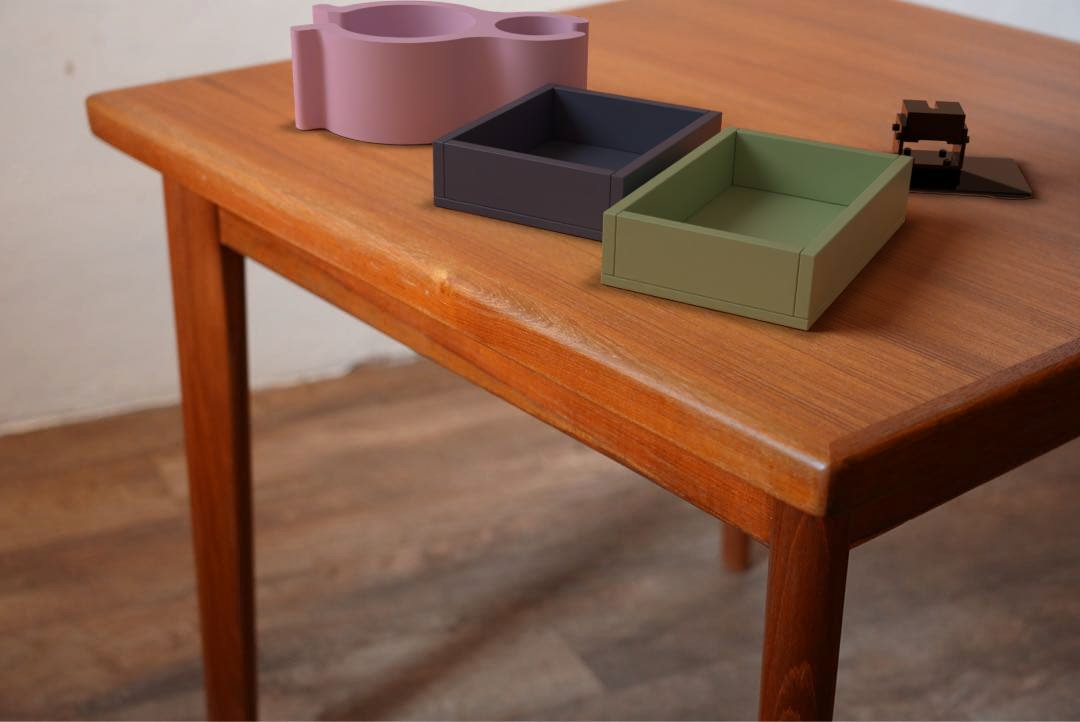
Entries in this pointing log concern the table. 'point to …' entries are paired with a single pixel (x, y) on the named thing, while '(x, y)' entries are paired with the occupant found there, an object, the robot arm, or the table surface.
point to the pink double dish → (425, 66)
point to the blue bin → (563, 156)
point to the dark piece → (952, 155)
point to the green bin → (757, 225)
